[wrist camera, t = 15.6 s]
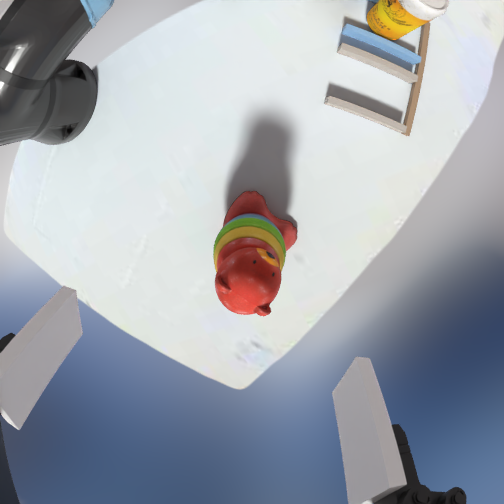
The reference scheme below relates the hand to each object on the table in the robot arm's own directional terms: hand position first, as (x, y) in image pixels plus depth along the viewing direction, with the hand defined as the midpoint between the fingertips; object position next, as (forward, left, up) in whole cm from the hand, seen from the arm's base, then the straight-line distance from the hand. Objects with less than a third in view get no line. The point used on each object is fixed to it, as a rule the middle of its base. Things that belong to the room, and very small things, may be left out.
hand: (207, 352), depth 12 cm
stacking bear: (+2, -6, -32) cm, 33 cm away
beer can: (+13, +32, -32) cm, 47 cm away
